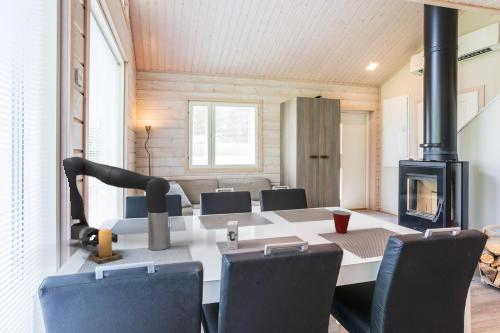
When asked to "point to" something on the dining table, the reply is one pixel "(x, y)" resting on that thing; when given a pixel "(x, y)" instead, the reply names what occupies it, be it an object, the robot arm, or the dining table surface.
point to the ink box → (232, 235)
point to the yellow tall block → (105, 243)
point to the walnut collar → (99, 261)
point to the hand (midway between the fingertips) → (106, 242)
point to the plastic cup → (341, 220)
